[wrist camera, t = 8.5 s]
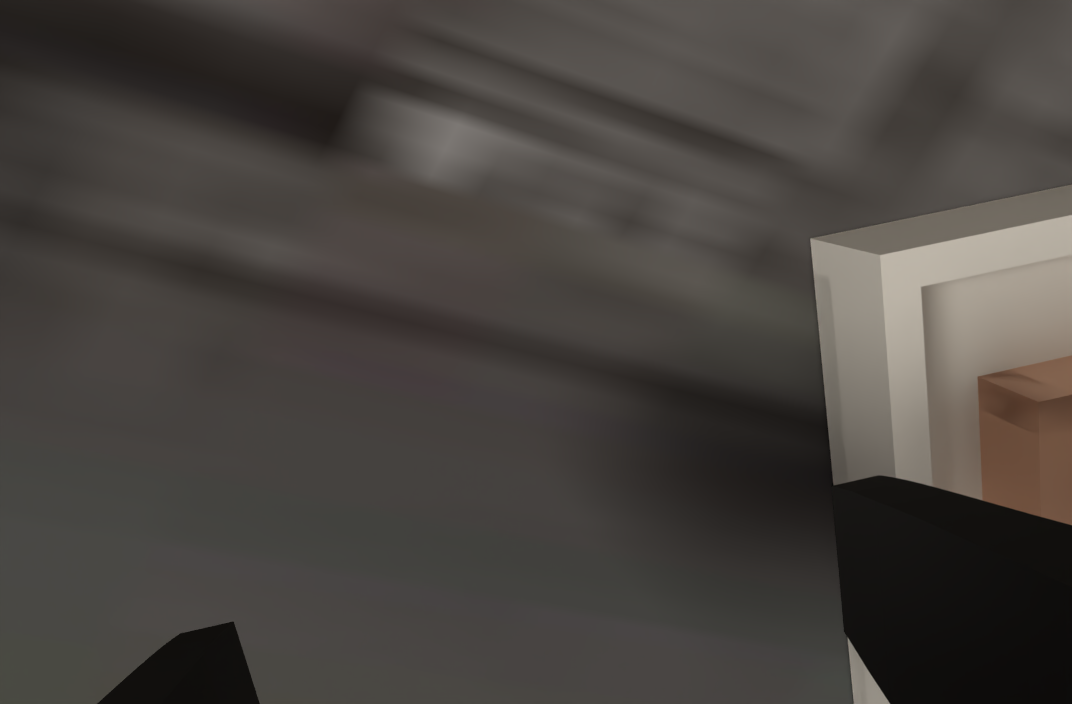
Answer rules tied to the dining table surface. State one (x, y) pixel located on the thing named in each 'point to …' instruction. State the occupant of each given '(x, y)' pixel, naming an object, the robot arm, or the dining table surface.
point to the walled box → (952, 356)
